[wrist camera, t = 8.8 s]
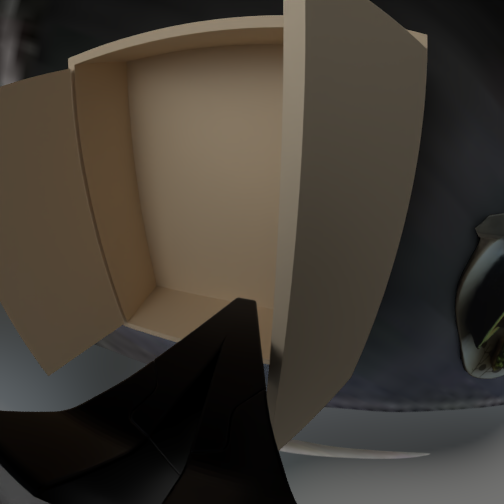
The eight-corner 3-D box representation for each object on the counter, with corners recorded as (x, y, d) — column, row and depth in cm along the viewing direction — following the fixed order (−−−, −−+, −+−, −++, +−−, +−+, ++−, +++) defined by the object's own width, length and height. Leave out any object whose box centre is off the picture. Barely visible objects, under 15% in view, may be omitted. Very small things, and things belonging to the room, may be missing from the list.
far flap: (-57, 110, 5) (-56, 111, 6) (48, 376, 14) (46, 372, 14) (70, 68, 10) (67, 70, 10) (124, 323, 19) (121, 320, 19)
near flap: (416, 47, 7) (427, 49, 7) (345, 374, 16) (350, 377, 15) (282, -35, 3) (303, -40, 2) (261, 455, 12) (266, 460, 11)
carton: (399, 50, 11) (427, 34, 7) (353, 322, 20) (351, 377, 16) (125, 56, 14) (68, 58, 10) (155, 285, 24) (123, 325, 20)
